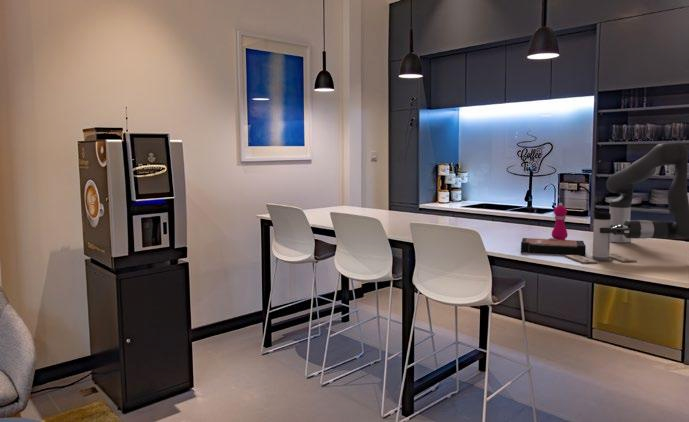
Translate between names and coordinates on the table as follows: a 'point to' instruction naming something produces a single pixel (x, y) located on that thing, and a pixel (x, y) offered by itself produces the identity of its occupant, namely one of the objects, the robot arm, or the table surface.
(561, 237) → the pepper mill
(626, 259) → the brown flat boards
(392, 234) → the table surface
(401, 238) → the table surface
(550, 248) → the book
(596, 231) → the travel mug
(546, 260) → the table surface
